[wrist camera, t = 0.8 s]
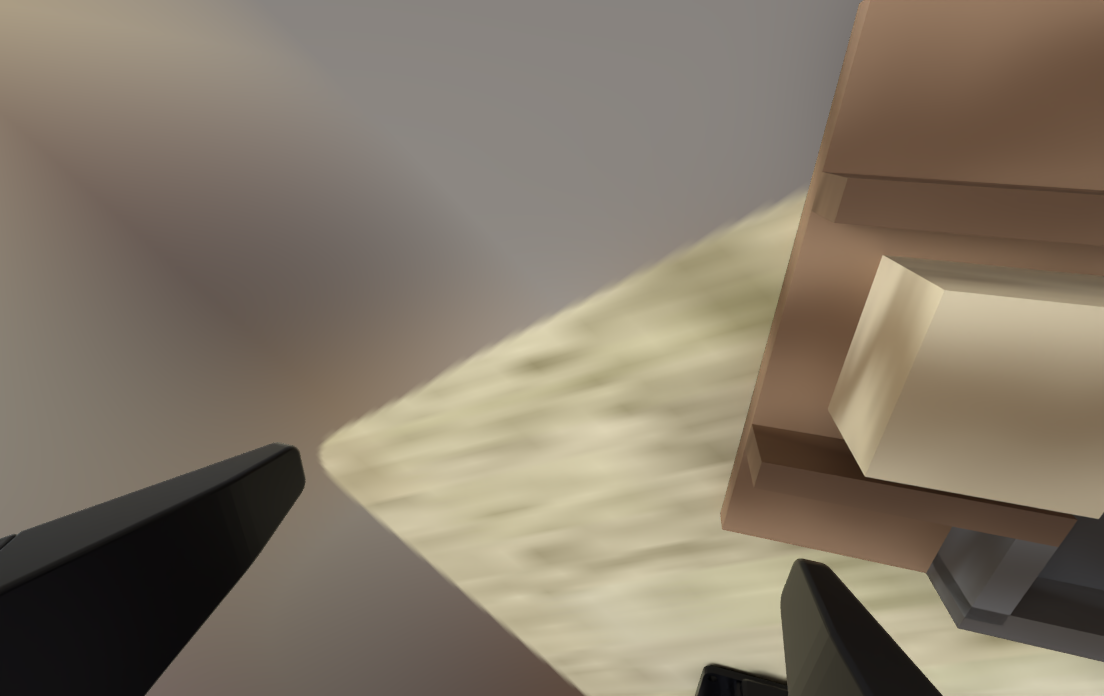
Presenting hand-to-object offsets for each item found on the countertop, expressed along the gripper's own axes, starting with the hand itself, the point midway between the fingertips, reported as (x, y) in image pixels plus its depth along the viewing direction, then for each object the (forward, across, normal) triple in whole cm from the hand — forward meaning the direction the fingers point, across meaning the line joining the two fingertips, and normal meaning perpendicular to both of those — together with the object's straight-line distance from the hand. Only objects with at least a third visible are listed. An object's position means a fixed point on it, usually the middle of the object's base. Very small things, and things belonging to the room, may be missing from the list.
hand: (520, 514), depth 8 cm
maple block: (+11, -12, 0) cm, 16 cm away
